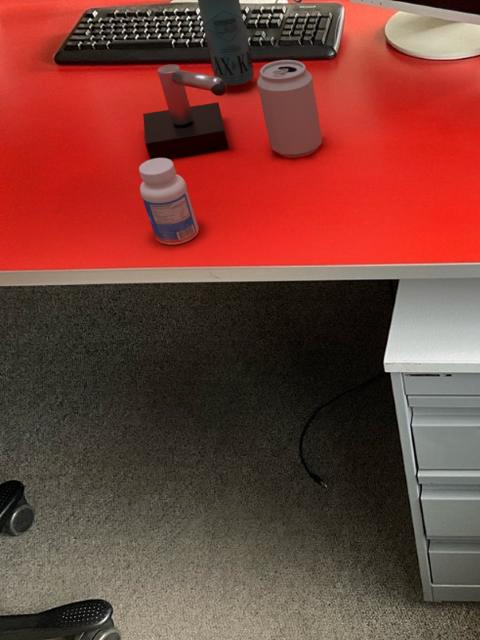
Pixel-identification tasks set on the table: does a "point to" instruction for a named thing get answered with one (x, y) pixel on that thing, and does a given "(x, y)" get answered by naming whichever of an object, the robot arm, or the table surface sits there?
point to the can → (289, 108)
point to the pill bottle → (167, 202)
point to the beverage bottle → (227, 40)
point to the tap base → (185, 133)
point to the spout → (176, 93)
